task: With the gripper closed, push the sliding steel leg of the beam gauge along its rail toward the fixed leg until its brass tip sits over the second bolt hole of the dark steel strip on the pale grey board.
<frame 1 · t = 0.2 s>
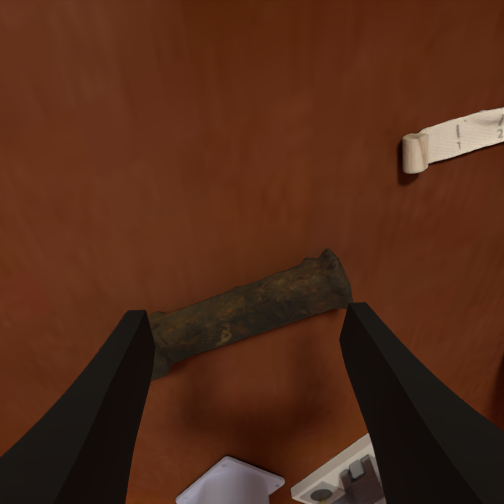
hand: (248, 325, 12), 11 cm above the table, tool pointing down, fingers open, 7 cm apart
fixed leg: (357, 455, 35), resting on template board
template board: (380, 481, 37), on the table
hand tool: (218, 307, 25), on the table
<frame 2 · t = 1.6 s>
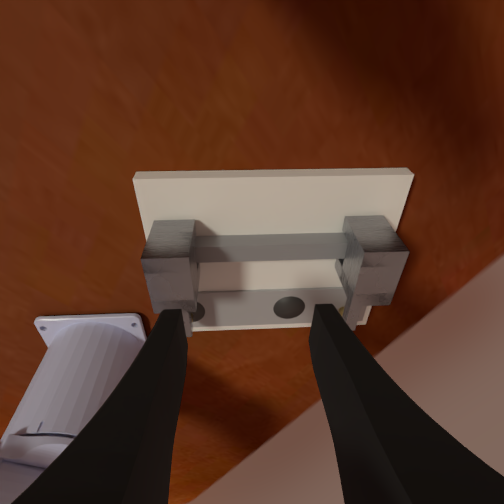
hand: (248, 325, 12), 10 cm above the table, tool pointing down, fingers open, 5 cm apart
sliding leg: (359, 286, 21), point 3 cm above the table, slide at 0.0 cm
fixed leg: (181, 235, 22), resting on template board
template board: (269, 256, 23), on the table
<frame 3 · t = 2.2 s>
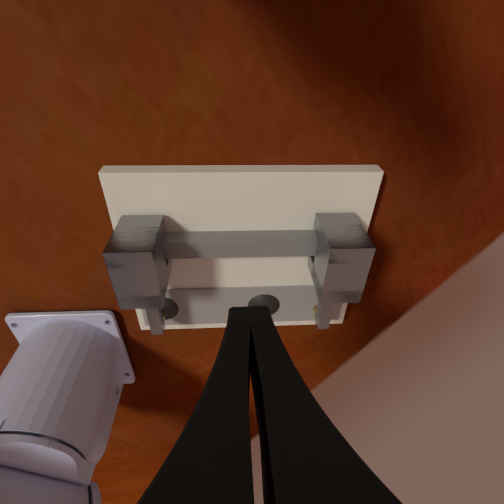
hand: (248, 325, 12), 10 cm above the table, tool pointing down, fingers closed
sliding leg: (331, 284, 21), point 3 cm above the table, slide at 0.0 cm
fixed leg: (151, 231, 22), resting on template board
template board: (243, 253, 23), on the table
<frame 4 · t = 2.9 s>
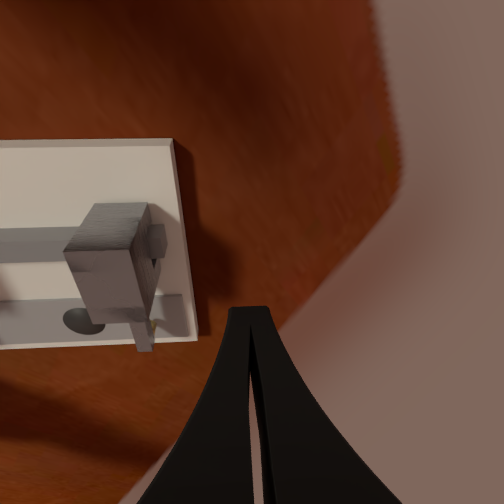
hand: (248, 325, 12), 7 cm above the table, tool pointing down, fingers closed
sliding leg: (131, 296, 16), point 3 cm above the table, slide at 0.0 cm
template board: (42, 257, 18), on the table
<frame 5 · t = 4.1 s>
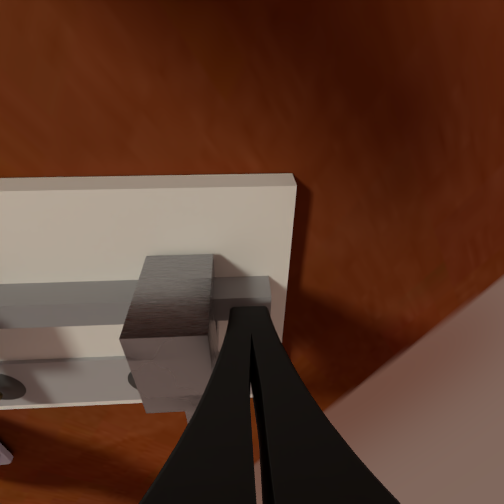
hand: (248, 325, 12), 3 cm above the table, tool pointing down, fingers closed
sliding leg: (187, 367, 13), point 3 cm above the table, slide at 1.6 cm, touching gripper
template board: (108, 308, 15), on the table
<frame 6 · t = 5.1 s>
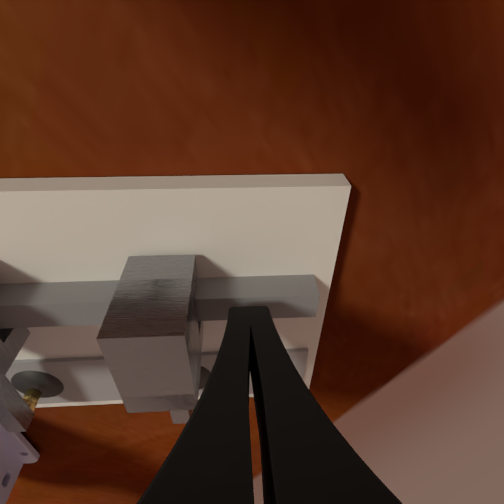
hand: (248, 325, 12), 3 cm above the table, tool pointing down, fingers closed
sliding leg: (170, 367, 13), point 3 cm above the table, slide at 4.1 cm
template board: (149, 307, 15), on the table
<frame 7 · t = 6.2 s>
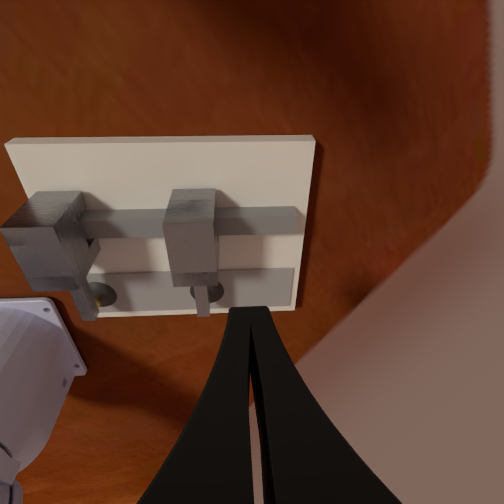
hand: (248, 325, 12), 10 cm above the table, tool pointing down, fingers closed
sliding leg: (198, 267, 20), point 3 cm above the table, slide at 4.1 cm
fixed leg: (78, 210, 20), resting on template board
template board: (180, 235, 22), on the table
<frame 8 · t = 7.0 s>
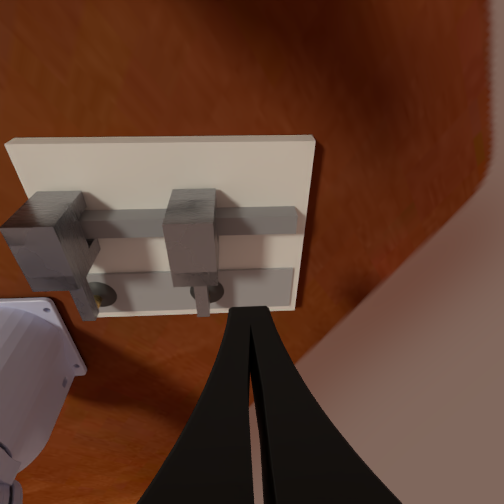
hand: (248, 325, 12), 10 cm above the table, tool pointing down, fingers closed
sliding leg: (198, 267, 20), point 3 cm above the table, slide at 4.1 cm
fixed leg: (78, 210, 20), resting on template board
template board: (180, 235, 22), on the table
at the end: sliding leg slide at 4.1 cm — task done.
